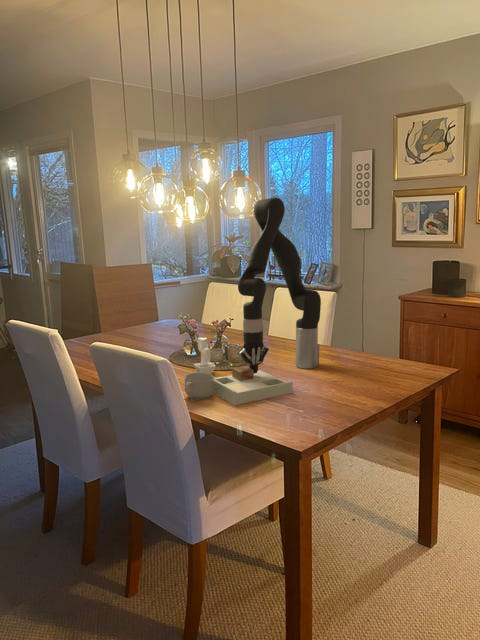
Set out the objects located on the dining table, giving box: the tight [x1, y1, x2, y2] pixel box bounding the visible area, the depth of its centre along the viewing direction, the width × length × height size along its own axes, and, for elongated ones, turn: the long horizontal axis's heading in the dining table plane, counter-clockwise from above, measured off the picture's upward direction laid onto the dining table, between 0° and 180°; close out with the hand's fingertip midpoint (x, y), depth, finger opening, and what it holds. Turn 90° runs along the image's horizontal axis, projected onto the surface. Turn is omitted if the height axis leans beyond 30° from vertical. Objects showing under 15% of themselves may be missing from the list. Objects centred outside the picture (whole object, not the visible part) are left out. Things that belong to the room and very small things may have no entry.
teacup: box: [184, 371, 216, 401], centre depth 192 cm, size 14×11×8 cm
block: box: [231, 365, 254, 381], centre depth 206 cm, size 6×6×4 cm
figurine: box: [193, 337, 217, 375], centre depth 221 cm, size 7×9×15 cm
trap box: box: [212, 369, 294, 406], centre depth 200 cm, size 25×24×5 cm
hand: (254, 372), depth 208 cm, fingers closed
